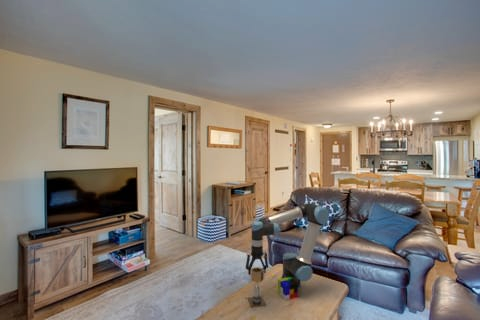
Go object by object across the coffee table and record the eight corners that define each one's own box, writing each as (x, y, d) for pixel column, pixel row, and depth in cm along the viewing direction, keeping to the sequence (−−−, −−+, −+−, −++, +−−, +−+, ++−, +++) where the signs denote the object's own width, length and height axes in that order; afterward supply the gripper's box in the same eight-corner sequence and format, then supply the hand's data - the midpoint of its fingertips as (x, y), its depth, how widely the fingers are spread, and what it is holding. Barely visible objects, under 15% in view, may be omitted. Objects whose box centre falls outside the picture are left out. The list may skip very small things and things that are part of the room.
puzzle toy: (285, 300, 171) (285, 286, 170) (277, 292, 180) (277, 279, 180) (297, 297, 174) (297, 283, 174) (289, 289, 184) (289, 276, 183)
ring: (249, 276, 171) (249, 268, 171) (261, 275, 172) (261, 267, 172) (252, 282, 163) (252, 273, 163) (264, 281, 165) (264, 272, 164)
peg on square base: (247, 298, 172) (247, 282, 172) (261, 297, 174) (261, 280, 174) (251, 307, 163) (251, 290, 162) (265, 305, 164) (265, 288, 164)
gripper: (243, 248, 161) (243, 282, 162) (273, 246, 166) (273, 279, 166) (240, 244, 169) (240, 277, 169) (270, 242, 173) (269, 274, 174)
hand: (256, 278), depth 168 cm, fingers closed on ring, 8 cm apart
